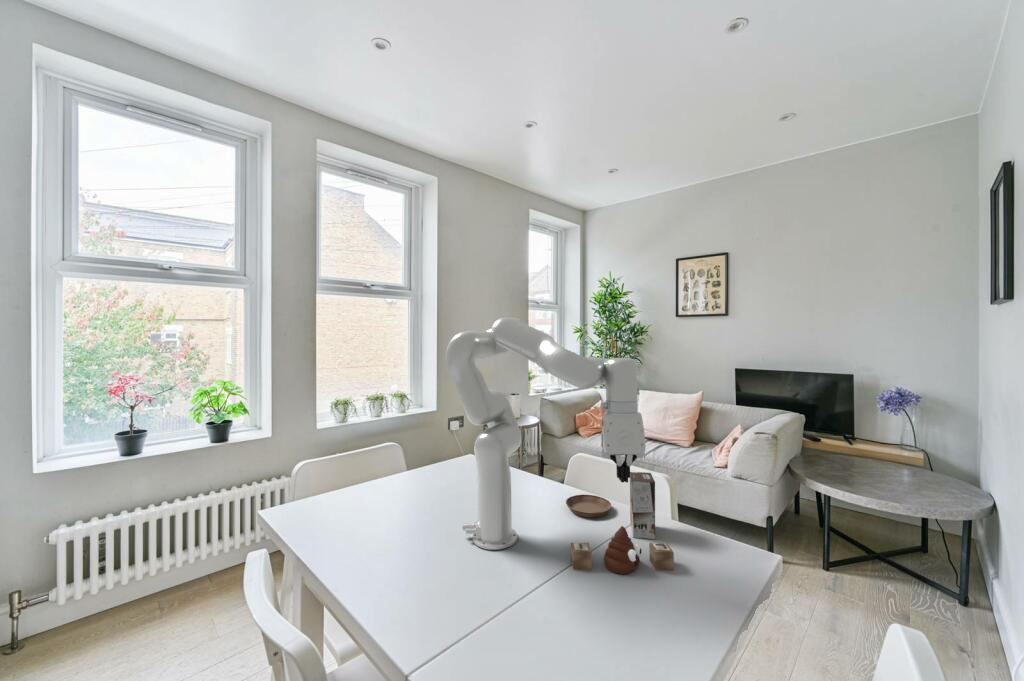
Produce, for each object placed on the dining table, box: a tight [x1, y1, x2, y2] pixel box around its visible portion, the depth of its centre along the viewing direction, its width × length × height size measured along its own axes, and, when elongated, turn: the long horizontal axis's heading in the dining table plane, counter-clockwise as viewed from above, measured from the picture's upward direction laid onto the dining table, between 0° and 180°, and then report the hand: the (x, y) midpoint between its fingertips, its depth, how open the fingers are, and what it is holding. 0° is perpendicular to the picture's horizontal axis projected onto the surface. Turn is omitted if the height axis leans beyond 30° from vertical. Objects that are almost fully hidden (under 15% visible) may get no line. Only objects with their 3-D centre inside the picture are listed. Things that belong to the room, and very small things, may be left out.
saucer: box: [565, 494, 612, 518], centre depth 137 cm, size 15×15×3 cm
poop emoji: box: [603, 525, 642, 575], centre depth 103 cm, size 10×8×9 cm
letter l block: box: [648, 542, 675, 571], centre depth 103 cm, size 4×4×5 cm
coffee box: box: [629, 471, 656, 540], centre depth 121 cm, size 9×6×16 cm
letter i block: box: [570, 542, 592, 571], centre depth 104 cm, size 4×4×5 cm
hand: (623, 480), depth 103 cm, fingers closed
